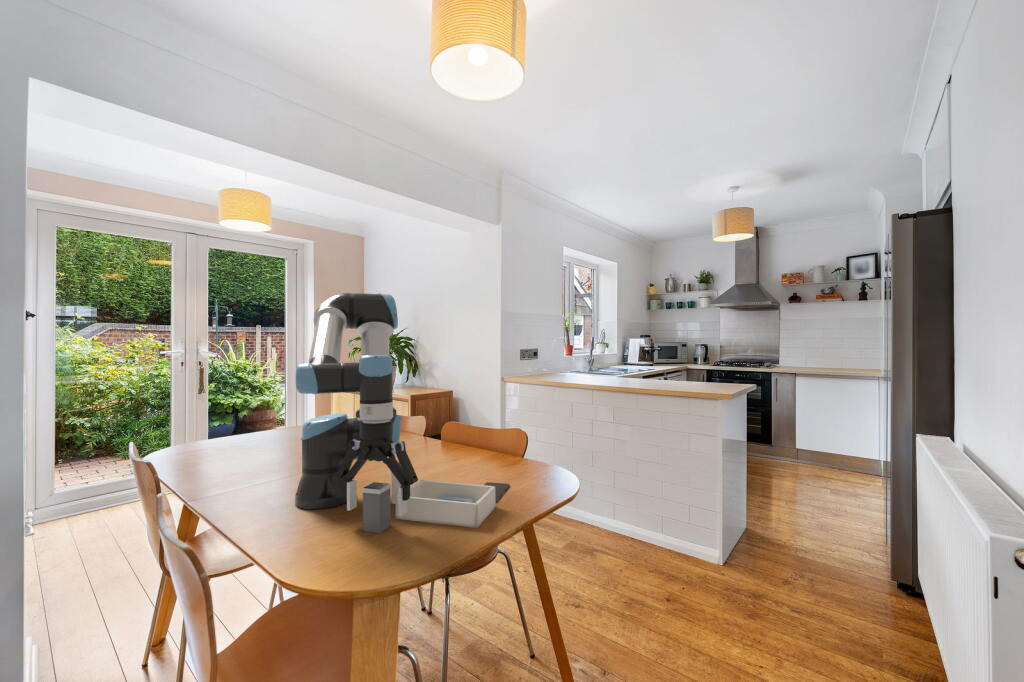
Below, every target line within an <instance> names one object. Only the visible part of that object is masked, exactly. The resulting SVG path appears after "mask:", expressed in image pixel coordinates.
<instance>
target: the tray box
mask: <svg viewBox="0 0 1024 682" xmlns="http://www.w3.org/2000/svg"><path fill="white" fill-rule="evenodd" d="M496 505H497V503H496V497H495V486H486V485H484V484H472V483H462V482H461V483H460V482H449V481H448V482H447V481H438V480H437V481H436V480H425V479H420V480H418V481H417V482H415V483H414V484H412V485H411V487H410V498H409V499H408V500H407V512H406V513H405V514H404V515H402V516H398V495H397V496H395V519H396V520H402V521H413V522H421V523H431V524H439V525H445V526H446V525H447V526H448V525H449V526H455V527H463V528H464V527H465V528H474V529H478V528H479V527H480V526H481V525H482V524H483V523H484V521H485V520H486V519H487V518H488V517H489V516H490V514H492V512H493V511H494V510H495V508H497V507H496Z"/></svg>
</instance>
